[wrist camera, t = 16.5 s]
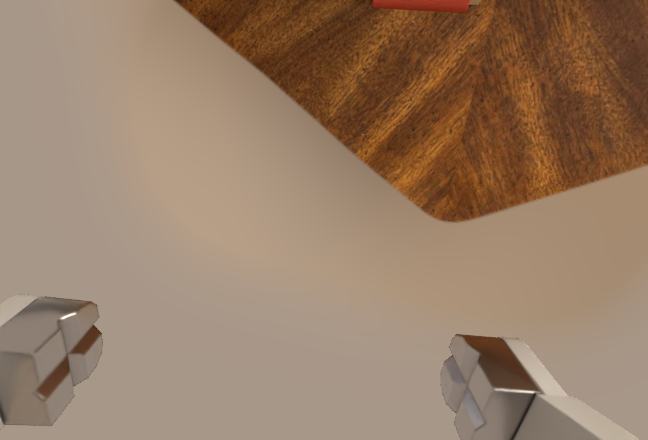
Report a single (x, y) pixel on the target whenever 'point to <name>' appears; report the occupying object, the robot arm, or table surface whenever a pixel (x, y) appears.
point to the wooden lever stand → (474, 2)
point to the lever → (424, 5)
